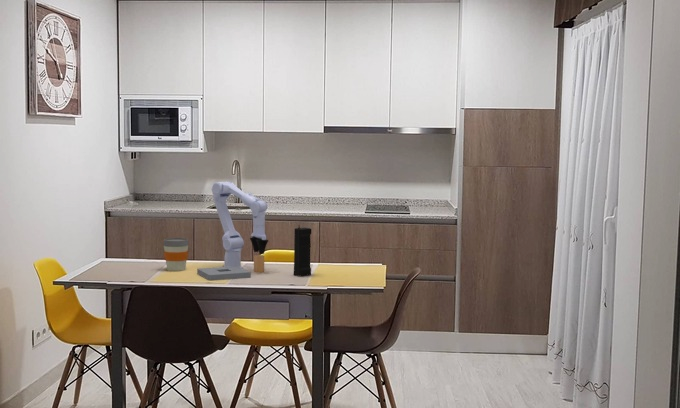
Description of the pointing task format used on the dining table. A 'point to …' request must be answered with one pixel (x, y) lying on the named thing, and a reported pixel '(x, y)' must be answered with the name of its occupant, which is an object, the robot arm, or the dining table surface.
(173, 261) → the reusable coffee cup
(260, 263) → the plug
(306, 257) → the portable radio
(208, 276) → the socket plate
